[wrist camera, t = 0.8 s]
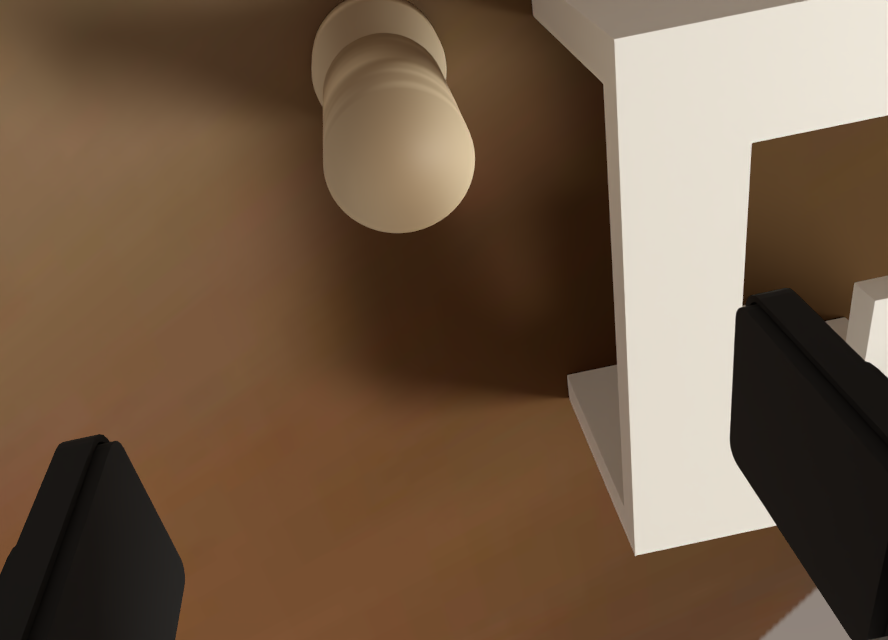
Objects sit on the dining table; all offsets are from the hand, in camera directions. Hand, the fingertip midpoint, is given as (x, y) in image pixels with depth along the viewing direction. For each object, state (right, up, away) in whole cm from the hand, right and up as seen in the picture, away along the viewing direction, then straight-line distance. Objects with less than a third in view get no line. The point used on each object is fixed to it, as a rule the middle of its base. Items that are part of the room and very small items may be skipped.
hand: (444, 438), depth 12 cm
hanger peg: (-2, +11, +18) cm, 21 cm away
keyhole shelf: (+12, +8, +22) cm, 26 cm away
